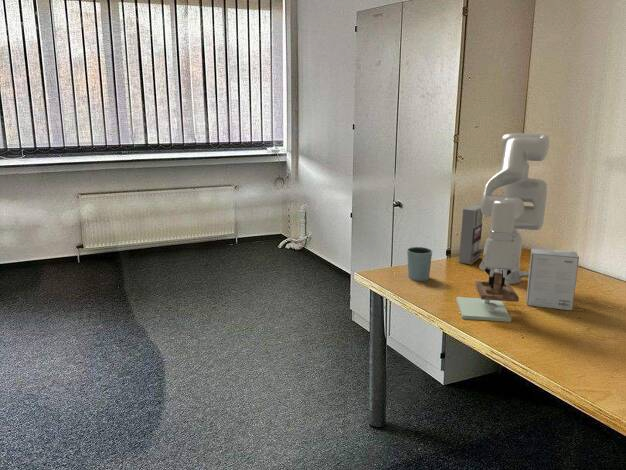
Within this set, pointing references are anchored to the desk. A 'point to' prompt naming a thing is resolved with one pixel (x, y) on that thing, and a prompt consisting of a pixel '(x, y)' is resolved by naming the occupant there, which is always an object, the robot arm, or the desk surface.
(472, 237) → the tall grey labeled box
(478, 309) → the board
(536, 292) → the hard drive box
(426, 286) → the desk surface
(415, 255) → the blue-grey cup
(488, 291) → the brown wooden puzzle block
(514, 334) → the desk surface
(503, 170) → the robot arm
